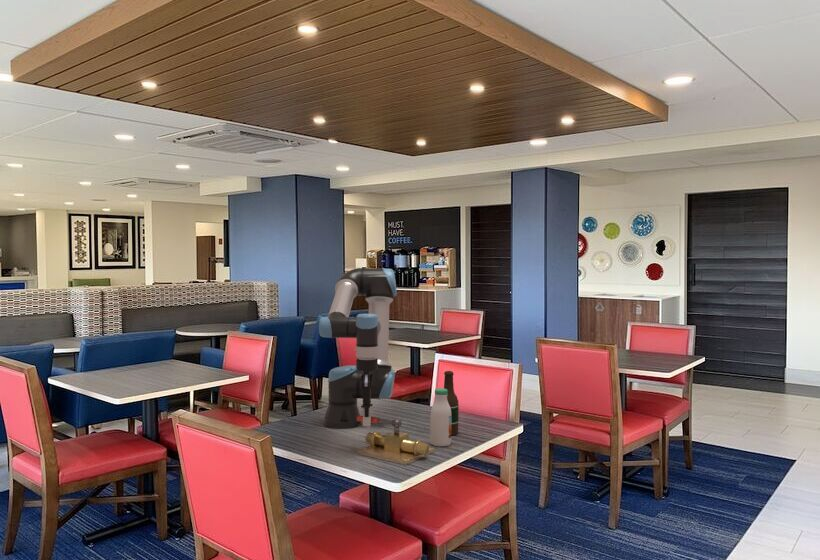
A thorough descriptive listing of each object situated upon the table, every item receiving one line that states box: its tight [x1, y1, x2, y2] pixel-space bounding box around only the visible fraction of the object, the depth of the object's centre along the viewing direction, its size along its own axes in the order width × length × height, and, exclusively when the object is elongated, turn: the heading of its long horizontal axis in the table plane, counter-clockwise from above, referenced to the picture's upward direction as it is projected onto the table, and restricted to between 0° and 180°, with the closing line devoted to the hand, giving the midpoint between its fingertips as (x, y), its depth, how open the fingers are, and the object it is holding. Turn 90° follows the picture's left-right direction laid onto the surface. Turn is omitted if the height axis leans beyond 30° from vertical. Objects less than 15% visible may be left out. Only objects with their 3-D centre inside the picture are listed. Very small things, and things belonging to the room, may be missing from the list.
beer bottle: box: [443, 370, 459, 436], centre depth 242 cm, size 8×8×24 cm
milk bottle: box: [429, 387, 452, 447], centre depth 228 cm, size 8×8×20 cm
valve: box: [357, 426, 436, 466], centre depth 217 cm, size 24×18×10 cm
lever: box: [357, 414, 402, 427], centre depth 219 cm, size 17×3×2 cm, turn 67°
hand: (366, 425), depth 219 cm, fingers closed
